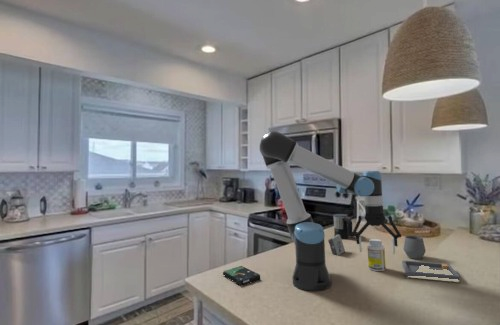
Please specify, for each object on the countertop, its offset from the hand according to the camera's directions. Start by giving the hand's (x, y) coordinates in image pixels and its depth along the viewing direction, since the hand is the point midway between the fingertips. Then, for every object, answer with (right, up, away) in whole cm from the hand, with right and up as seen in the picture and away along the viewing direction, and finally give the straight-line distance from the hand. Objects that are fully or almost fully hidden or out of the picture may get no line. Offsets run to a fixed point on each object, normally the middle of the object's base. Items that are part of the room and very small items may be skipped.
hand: (377, 252), depth 126 cm
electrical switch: (-10, -9, +25) cm, 29 cm away
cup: (+25, -7, +13) cm, 29 cm away
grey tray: (+18, -7, -8) cm, 21 cm away
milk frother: (+7, -9, +59) cm, 60 cm away
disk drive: (-61, -11, -4) cm, 62 cm away
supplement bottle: (0, -8, 0) cm, 8 cm away
